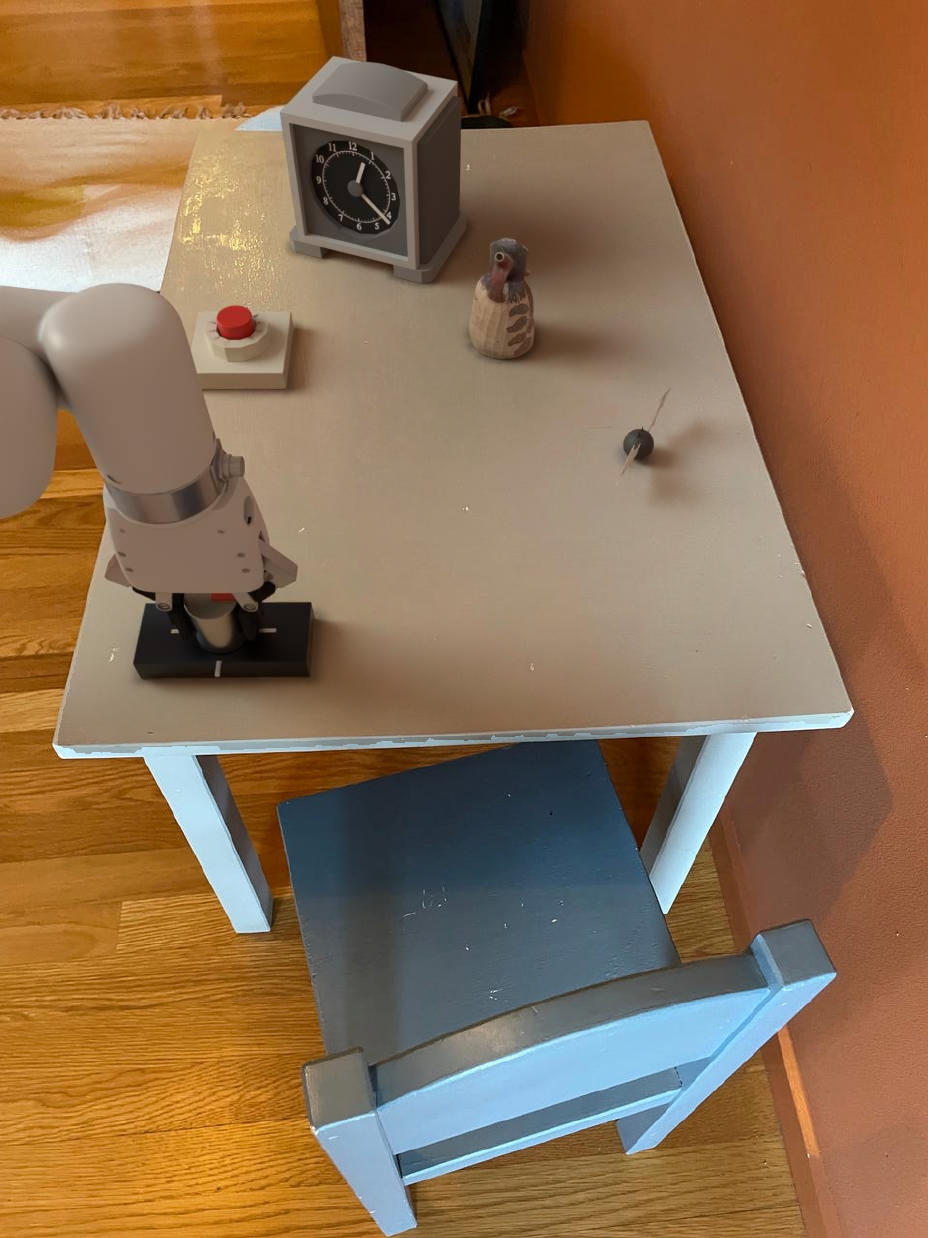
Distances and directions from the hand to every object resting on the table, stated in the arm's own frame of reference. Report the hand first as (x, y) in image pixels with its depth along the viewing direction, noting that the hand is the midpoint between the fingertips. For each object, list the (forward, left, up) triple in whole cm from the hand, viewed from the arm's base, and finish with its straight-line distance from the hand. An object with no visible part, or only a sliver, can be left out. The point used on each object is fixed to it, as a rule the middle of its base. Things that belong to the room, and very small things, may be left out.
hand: (221, 624), depth 74 cm
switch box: (-3, +37, -4) cm, 37 cm away
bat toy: (+38, +22, -4) cm, 44 cm away
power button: (-3, +37, 0) cm, 37 cm away
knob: (0, 0, -1) cm, 1 cm away
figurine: (+25, +40, -4) cm, 47 cm away
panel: (0, 0, -4) cm, 4 cm away
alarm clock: (+11, +59, -4) cm, 60 cm away
